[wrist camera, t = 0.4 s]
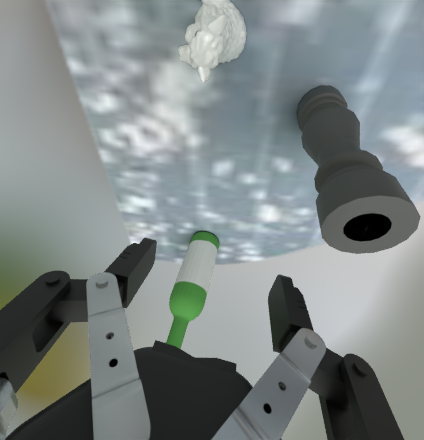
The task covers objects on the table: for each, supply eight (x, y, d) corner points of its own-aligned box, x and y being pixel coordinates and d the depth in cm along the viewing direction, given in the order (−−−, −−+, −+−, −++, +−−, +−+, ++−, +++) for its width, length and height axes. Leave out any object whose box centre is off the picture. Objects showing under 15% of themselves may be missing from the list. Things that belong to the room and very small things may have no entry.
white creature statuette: (195, -39, 25) (152, -63, 16) (263, -8, 25) (256, -16, 17) (180, 57, 31) (145, 76, 23) (234, 80, 32) (219, 106, 24)
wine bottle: (192, 227, 57) (143, 352, 37) (221, 232, 56) (187, 364, 36) (193, 245, 63) (150, 362, 42) (218, 250, 62) (189, 373, 41)
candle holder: (352, 104, 31) (447, 229, 14) (315, 137, 35) (352, 265, 18) (323, 74, 29) (387, 173, 12) (288, 113, 33) (298, 227, 16)
